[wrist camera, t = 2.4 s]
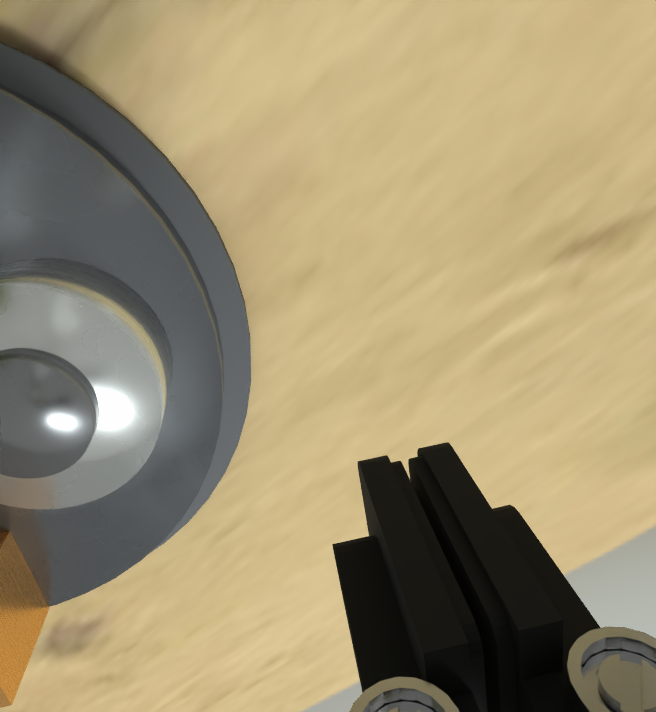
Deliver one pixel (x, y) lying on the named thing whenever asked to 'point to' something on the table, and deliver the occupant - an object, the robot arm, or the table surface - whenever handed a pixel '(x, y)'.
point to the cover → (76, 383)
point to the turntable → (190, 367)
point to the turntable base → (184, 214)
